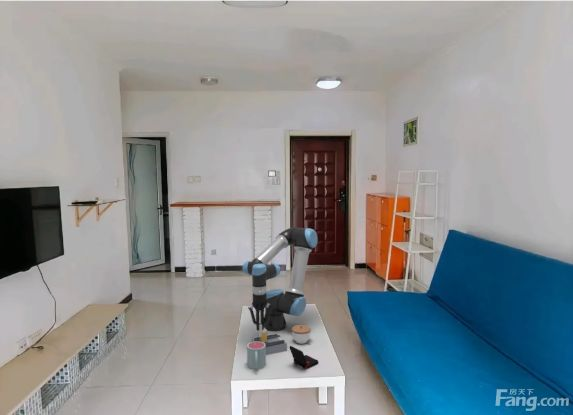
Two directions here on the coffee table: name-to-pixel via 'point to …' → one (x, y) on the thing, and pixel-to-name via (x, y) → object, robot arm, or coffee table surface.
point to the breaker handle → (264, 336)
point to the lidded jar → (301, 333)
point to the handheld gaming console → (302, 359)
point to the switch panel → (274, 344)
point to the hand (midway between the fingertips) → (260, 335)
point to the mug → (256, 355)
